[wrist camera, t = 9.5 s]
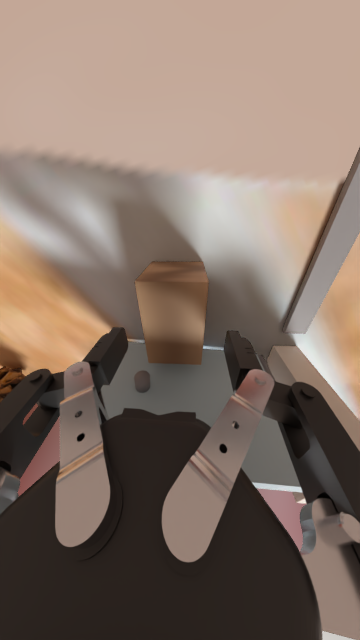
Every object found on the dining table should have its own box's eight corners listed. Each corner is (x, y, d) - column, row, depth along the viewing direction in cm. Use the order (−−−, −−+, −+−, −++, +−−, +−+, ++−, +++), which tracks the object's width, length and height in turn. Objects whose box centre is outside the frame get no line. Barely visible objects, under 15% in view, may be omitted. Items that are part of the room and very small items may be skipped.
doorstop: (202, 261, 15) (208, 282, 10) (198, 327, 20) (201, 364, 15) (152, 261, 16) (134, 281, 11) (158, 326, 20) (148, 363, 15)
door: (123, 332, 19) (50, 456, 9) (268, 346, 19) (353, 484, 9) (125, 348, 21) (65, 469, 11) (260, 360, 21) (327, 495, 11)
